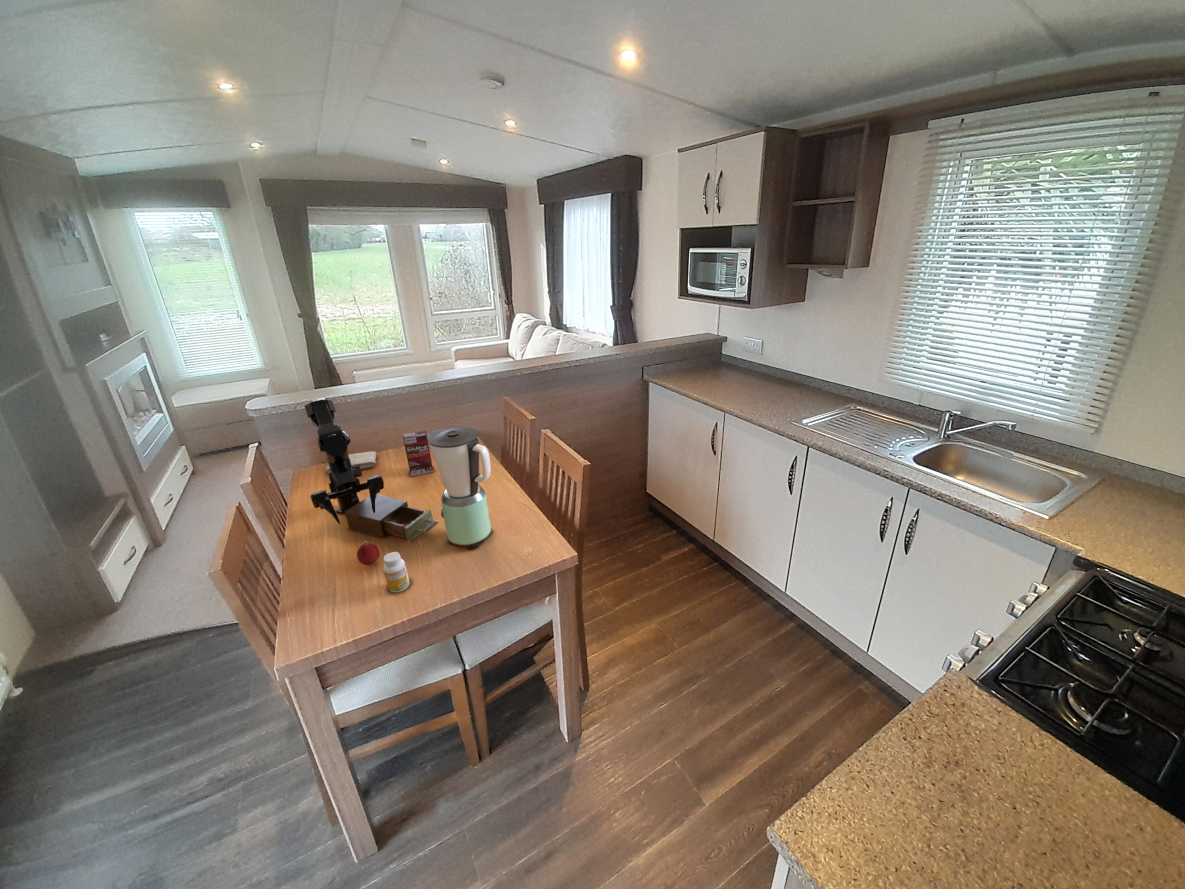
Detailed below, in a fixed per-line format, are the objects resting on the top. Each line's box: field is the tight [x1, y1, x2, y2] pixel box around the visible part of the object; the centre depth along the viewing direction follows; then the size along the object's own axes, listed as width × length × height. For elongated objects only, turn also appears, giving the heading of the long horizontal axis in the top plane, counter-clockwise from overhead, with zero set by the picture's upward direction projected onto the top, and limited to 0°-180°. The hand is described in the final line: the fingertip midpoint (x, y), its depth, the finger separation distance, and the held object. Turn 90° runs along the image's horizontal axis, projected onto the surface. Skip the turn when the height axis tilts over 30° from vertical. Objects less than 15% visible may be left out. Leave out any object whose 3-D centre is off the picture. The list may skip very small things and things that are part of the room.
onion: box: [356, 540, 381, 566], centre depth 134 cm, size 6×6×8 cm
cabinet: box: [344, 493, 409, 539], centre depth 153 cm, size 14×12×6 cm
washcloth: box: [325, 450, 377, 474], centre depth 192 cm, size 12×18×3 cm, turn 110°
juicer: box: [427, 426, 492, 550], centre depth 138 cm, size 19×13×35 cm
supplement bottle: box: [382, 551, 410, 593], centre depth 125 cm, size 5×5×10 cm
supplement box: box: [402, 430, 434, 477], centre depth 183 cm, size 9×5×16 cm, turn 114°
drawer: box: [381, 505, 439, 542], centre depth 148 cm, size 18×11×5 cm, turn 67°
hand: (357, 518), depth 135 cm, fingers open, 9 cm apart
